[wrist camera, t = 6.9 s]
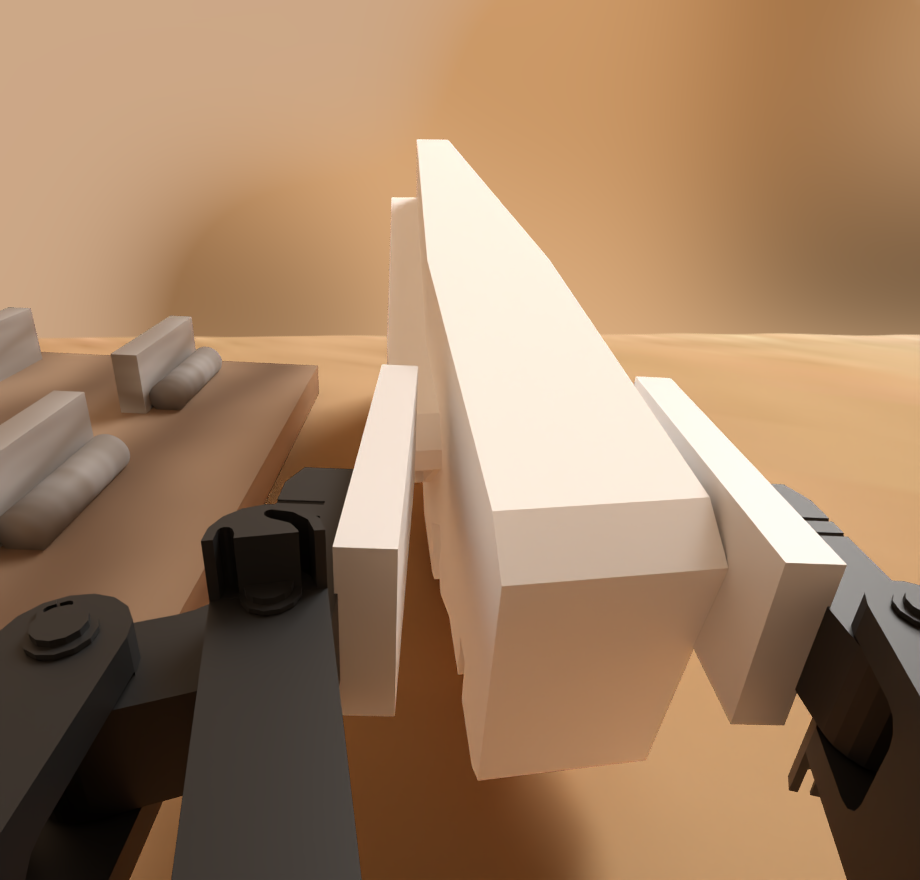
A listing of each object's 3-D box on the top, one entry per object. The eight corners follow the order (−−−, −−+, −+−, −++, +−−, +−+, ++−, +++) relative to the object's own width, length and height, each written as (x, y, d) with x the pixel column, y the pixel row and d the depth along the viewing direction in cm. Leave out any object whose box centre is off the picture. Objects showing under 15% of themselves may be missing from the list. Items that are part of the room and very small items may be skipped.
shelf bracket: (476, 379, 36) (492, 140, 29) (630, 885, 16) (814, 536, 9) (379, 383, 35) (370, 138, 28) (417, 917, 15) (418, 566, 8)
